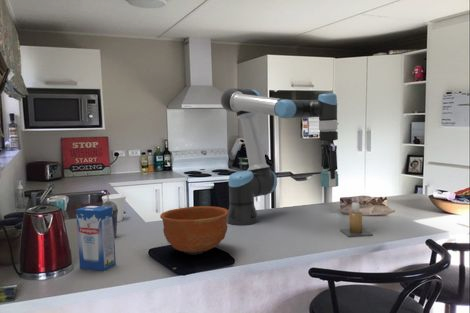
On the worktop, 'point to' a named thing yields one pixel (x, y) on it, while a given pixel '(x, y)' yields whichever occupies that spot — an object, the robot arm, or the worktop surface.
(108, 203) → the grey bottle
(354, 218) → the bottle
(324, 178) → the cap
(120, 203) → the cup
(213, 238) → the bowl
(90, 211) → the milk carton
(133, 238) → the worktop surface
